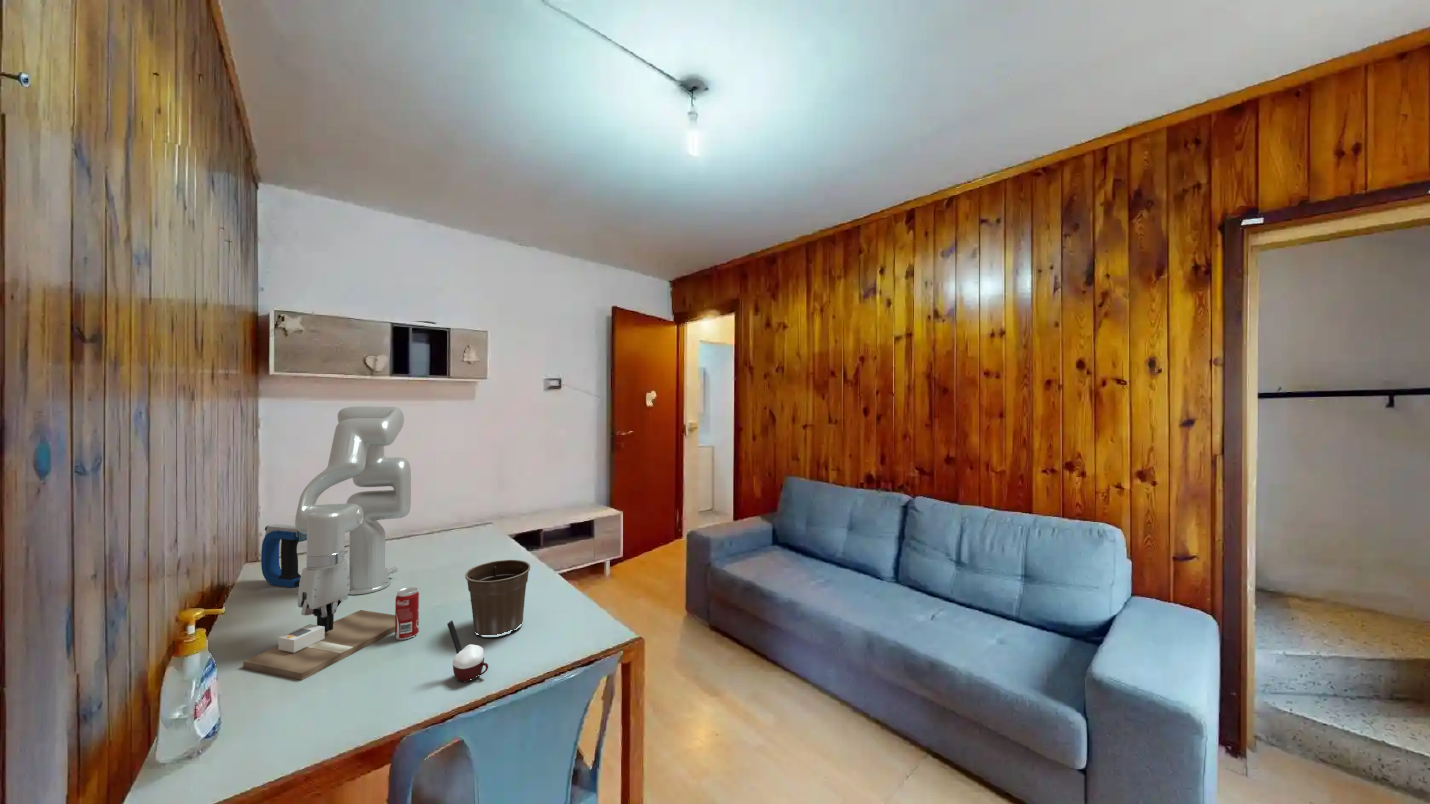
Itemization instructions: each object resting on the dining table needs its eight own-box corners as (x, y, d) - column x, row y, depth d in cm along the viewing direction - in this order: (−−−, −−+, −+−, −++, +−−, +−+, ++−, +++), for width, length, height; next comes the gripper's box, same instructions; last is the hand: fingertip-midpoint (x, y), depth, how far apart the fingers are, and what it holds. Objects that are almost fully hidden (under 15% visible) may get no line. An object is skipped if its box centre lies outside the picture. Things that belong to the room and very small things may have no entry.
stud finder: (309, 635, 122) (309, 623, 122) (324, 638, 120) (324, 625, 120) (278, 649, 115) (278, 636, 115) (293, 652, 114) (294, 639, 114)
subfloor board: (360, 615, 137) (360, 609, 137) (411, 623, 133) (411, 617, 133) (243, 667, 110) (243, 661, 110) (301, 680, 106) (301, 673, 106)
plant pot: (464, 649, 119) (464, 585, 119) (464, 622, 134) (465, 564, 134) (533, 635, 127) (533, 574, 127) (526, 610, 141) (527, 556, 141)
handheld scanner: (298, 589, 155) (299, 528, 155) (259, 584, 158) (260, 525, 158) (312, 584, 159) (314, 525, 160) (274, 579, 163) (275, 522, 163)
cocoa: (492, 677, 108) (496, 624, 108) (466, 691, 103) (470, 635, 103) (466, 664, 113) (470, 613, 113) (440, 676, 107) (444, 622, 107)
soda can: (402, 631, 128) (402, 586, 128) (422, 630, 128) (422, 586, 128) (390, 641, 123) (391, 594, 123) (411, 640, 123) (412, 594, 123)
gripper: (343, 549, 131) (343, 615, 131) (282, 567, 116) (281, 642, 116) (365, 551, 129) (364, 619, 129) (305, 570, 115) (304, 646, 115)
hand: (325, 630), depth 123 cm, fingers closed
